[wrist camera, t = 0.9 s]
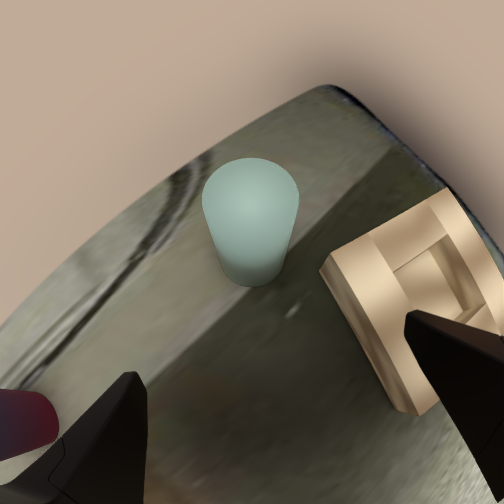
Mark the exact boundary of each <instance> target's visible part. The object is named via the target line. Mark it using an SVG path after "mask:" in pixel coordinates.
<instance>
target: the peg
mask: <svg viewBox="0 0 504 504" xmlns="http://www.w3.org/2000/svg"><path fill="white" fill-rule="evenodd" d="M202 206H203V211H204V214H205V217H206V220H207V223H208V226H209V229H210V232H211V235H212V239H213V242H214V245H215V248H216V251H217V254H218V257H219V260H220V263H221V266H222V268H223V270H224V272H225V274H226V275H227V276H228V277H229V278H230V279H231V280H232V281H234V282H235V283H237V284H239V285H242V286H246V287H259V286H262V285H265V284H267V283H269V282H271V281H272V280H273V279H275V278H276V276H277V275H278V274H279V273H280V271H281V269H282V266H283V263H284V260H285V256H286V252H287V248H288V245H289V241H290V237H291V233H292V230H293V226H294V222H295V218H296V214H297V210H298V206H299V192H298V189H297V186H296V183H295V182H294V180H293V178H292V177H291V176H290V174H289V173H288V172H287V171H286V170H284V169H283V168H282V167H280V166H279V165H277V164H275V163H273V162H271V161H268V160H264V159H259V158H243V159H238V160H234V161H231V162H229V163H227V164H225V165H223V166H221V167H220V168H219V169H217V170H216V171H215V172H214V173H213V174H212V175H211V176H210V178H209V179H208V181H207V182H206V184H205V187H204V189H203V194H202Z"/></svg>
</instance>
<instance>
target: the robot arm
mask: <svg viewBox="0 0 504 504" xmlns="http://www.w3.org/2000/svg"><path fill="white" fill-rule="evenodd" d="M404 337H405V340H406V342H407V343H408V345H409V347H410V349H411V351H412V353H413V355H414V357H415V359H416V361H417V363H418V365H419V367H420V369H421V370H422V372H423V374H424V375H425V377H426V378H427V380H428V382H429V383H430V385H431V386H432V388H433V389H434V391H435V392H436V394H437V396H438V397H439V399H440V400H441V402H442V404H443V405H444V407H445V409H446V410H447V412H448V413H449V415H450V417H451V418H452V420H453V422H454V423H455V425H456V427H457V429H458V430H459V432H460V434H461V435H462V437H463V439H464V441H465V442H466V444H467V446H468V448H469V450H470V451H471V453H472V455H473V457H474V458H475V461H476V463H477V464H478V466H479V468H480V470H481V472H482V474H483V476H484V478H485V480H486V482H487V484H488V486H489V487H490V489H491V491H492V494H493V496H494V498H495V500H496V501H497V503H498V502H500V501H501V500H502V499H503V498H504V336H501V335H500V336H499V335H498V334H495V333H492V332H488V331H485V330H482V329H479V328H476V327H472V326H469V325H466V324H463V323H460V322H456V321H453V320H450V319H447V318H444V317H440V316H437V315H434V314H431V313H428V312H425V311H421V310H418V309H416V310H413V311H410V312H408V313H407V314H406V317H405V325H404ZM147 438H148V418H147V391H146V388H145V386H144V384H143V382H142V380H141V378H140V377H139V375H138V373H137V372H135V371H131V372H125V373H123V374H122V375H121V376H120V377H119V378H118V379H117V380H116V381H115V382H114V383H113V384H112V385H111V386H110V387H109V388H108V389H107V390H106V391H105V392H104V393H103V394H102V395H101V396H100V397H99V398H98V399H97V401H96V402H95V403H94V404H93V405H92V406H91V407H90V408H89V409H88V410H87V411H86V412H85V413H84V414H83V415H82V416H81V417H80V418H79V419H78V420H77V421H76V422H75V423H74V424H73V425H72V426H71V427H70V428H69V429H68V430H67V431H66V432H65V433H64V434H63V435H62V437H60V438H59V439H58V440H57V441H56V442H55V443H54V444H53V445H52V446H51V447H50V448H49V449H48V450H47V451H46V452H45V453H44V454H43V455H42V456H41V457H40V458H38V459H37V460H36V461H35V462H34V463H33V464H31V465H30V466H29V467H28V468H27V469H26V470H24V471H23V472H22V473H21V474H20V475H18V476H17V477H16V478H15V479H13V480H12V481H11V482H9V483H7V484H4V485H0V504H143V498H144V478H145V463H146V450H147Z"/></svg>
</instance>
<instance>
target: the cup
mask: <svg viewBox="0 0 504 504" xmlns="http://www.w3.org/2000/svg"><path fill="white" fill-rule="evenodd" d="M58 431H59V424H58V418H57V415H56V412H55V410H54V408H53V406H52V405H51V403H50V402H49V401H48V400H47V399H46V398H45V397H44V396H43V395H41V394H39V393H36V392H28V391H17V390H7V389H0V461H3V460H6V459H9V458H12V457H15V456H18V455H21V454H23V453H26V452H29V451H32V450H34V449H37V448H40V447H42V446H45V445H47V444H50V443H52V442H53V441H54V440H55V439H56V437H57V435H58Z"/></svg>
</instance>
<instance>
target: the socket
mask: <svg viewBox="0 0 504 504" xmlns="http://www.w3.org/2000/svg"><path fill="white" fill-rule="evenodd" d="M319 273H320V274H321V276H322V278H323V279H324V281H325V283H326V284H327V286H328V288H329V289H330V291H331V293H332V295H333V296H334V298H335V300H336V302H337V303H338V305H339V307H340V309H341V310H342V312H343V314H344V316H345V317H346V319H347V321H348V323H349V324H350V326H351V328H352V330H353V331H354V333H355V335H356V337H357V339H358V340H359V342H360V344H361V346H362V348H363V350H364V351H365V353H366V355H367V357H368V359H369V361H370V362H371V364H372V366H373V368H374V370H375V372H376V374H377V376H378V377H379V379H380V381H381V383H382V385H383V387H384V389H385V391H386V393H387V395H388V397H389V399H390V400H391V402H392V404H393V406H394V408H395V410H397V411H401V412H404V413H408V414H412V415H416V416H421V415H422V414H424V413H425V412H426V411H427V410H428V409H430V408H431V407H432V406H433V405H434V404H435V403H437V402H438V401H439V400H440V399H439V397H438V396H437V394H436V392H435V391H434V389H433V388H432V386H431V385H430V383H429V382H428V380H427V378H426V377H425V375H424V374H423V372H422V370H421V369H420V367H419V365H418V363H417V361H416V359H415V357H414V355H413V353H412V351H411V349H410V347H409V345H408V343H407V342H406V340H405V337H404V325H405V317H406V314H407V313H408V312H410V311H413V310H416V309H418V310H421V311H425V312H428V313H431V314H434V315H437V316H440V317H444V318H447V319H450V320H453V321H456V322H460V323H463V324H466V325H469V326H472V327H476V328H479V329H482V330H485V331H488V332H492V333H495V334H498V335H499V336H500V335H501V336H502V335H503V333H504V280H503V278H502V276H501V274H500V272H499V270H498V268H497V267H496V265H495V263H494V261H493V259H492V257H491V255H490V254H489V252H488V250H487V248H486V247H485V245H484V243H483V241H482V240H481V238H480V236H479V235H478V233H477V231H476V230H475V228H474V226H473V225H472V223H471V222H470V220H469V219H468V217H467V215H466V214H465V212H464V211H463V209H462V208H461V206H460V205H459V203H458V202H457V201H456V199H455V198H454V196H453V195H452V193H451V192H450V191H449V189H448V188H447V187H446V188H445V189H443V190H441V191H440V192H438V193H436V194H435V195H433V196H431V197H429V198H428V199H426V200H424V201H423V202H421V203H419V204H417V205H416V206H414V207H412V208H411V209H409V210H407V211H405V212H404V213H402V214H400V215H398V216H397V217H395V218H393V219H391V220H389V221H388V222H386V223H384V224H382V225H381V226H379V227H377V228H375V229H373V230H372V231H370V232H368V233H366V234H364V235H363V236H361V237H359V238H357V239H355V240H354V241H352V242H350V243H348V244H346V245H344V246H342V247H341V248H339V249H337V250H335V251H333V252H331V253H330V254H329V256H328V257H327V259H326V260H325V262H324V264H323V265H322V267H321V268H320V270H319Z"/></svg>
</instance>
